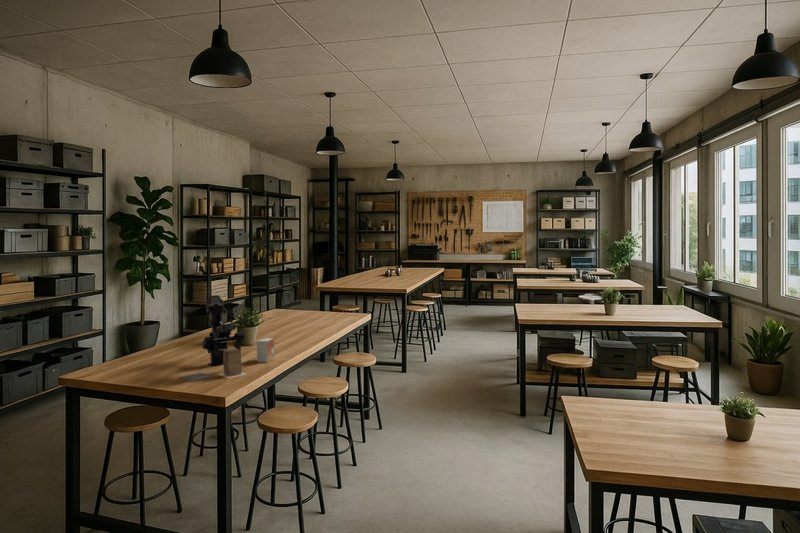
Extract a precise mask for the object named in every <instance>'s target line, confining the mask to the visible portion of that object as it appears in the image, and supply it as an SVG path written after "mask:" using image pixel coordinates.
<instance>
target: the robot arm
mask: <svg viewBox="0 0 800 533" xmlns="http://www.w3.org/2000/svg"><path fill="white" fill-rule="evenodd" d="M205 311H206V312H207V313H206V314H207V316H208V317H209V325H210V328H211V332H210V333H209V336H205V337H204V338H203V341H202V343H201V347H202V349H203V350H206V351H207V354H209V355H210V362H209V363H207V365H209V366H213V367H218V366H222V365H223V366H224V364H223V350H226V349H229V348H228V344H229V343H228V342H233V346H234V348H236V349H240V350H241V348H242V345H241V344H242V343H243V342H244V339H246V333H245V332H244V331H239V332H234V335H232V331H234V330H235V329H237V325H236V322H235V321H233V322H232V321H231V322H230V323H224V315H226V313H227V310H226V308H225V306H224V300H223V299H222V298H221V296H220V295H219V294H218V295H210V296H209V298H208V299H207V300H205ZM230 335H232V336H230ZM241 351H242V350H241Z"/></svg>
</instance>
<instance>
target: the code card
mask: <svg viewBox="0 0 800 533" xmlns="http://www.w3.org/2000/svg"><path fill="white" fill-rule="evenodd" d="M241 373H242V374H240V375H235V376H231V377H229V376H227V375H224V372H223V373H219V374H218V375H219V376H221V377H224V378H226V379H231V378H235V377H240V376H245V375H247V373H245V372H242V371H241Z"/></svg>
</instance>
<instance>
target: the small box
mask: <svg viewBox="0 0 800 533" xmlns="http://www.w3.org/2000/svg"><path fill="white" fill-rule="evenodd" d="M256 355H257V356H256V359H257V360H256V361H257V362H258V363H269V362H272V361H273V360H275V339H274V338H273V337H272V338H270V337H269V338H267V337H264V338H262V339H260V340H257V341H256ZM272 359H273V360H272Z"/></svg>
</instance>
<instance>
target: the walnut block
mask: <svg viewBox="0 0 800 533" xmlns="http://www.w3.org/2000/svg"><path fill="white" fill-rule="evenodd" d="M241 372H242V350H240V349H236V348H235V347H233V348H228V349H226V350H223V373H224V375H227V376H229V377H231V376H235V375H240V374H242V373H243V372H242V373H241Z"/></svg>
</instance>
